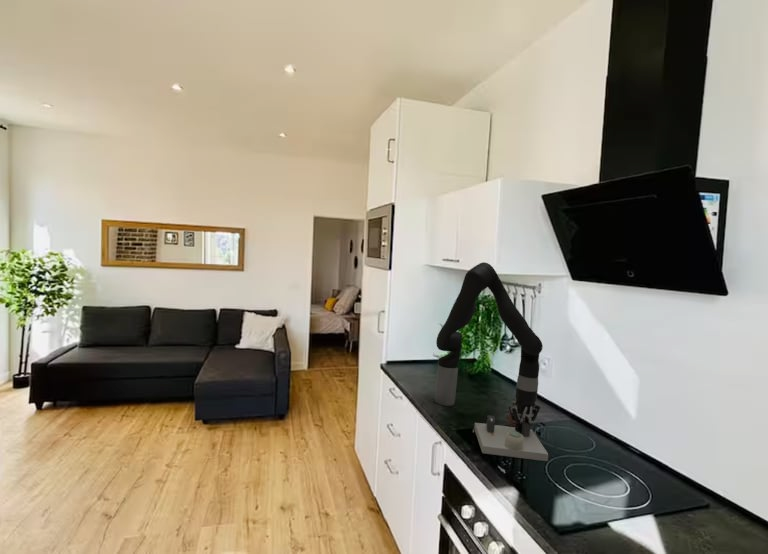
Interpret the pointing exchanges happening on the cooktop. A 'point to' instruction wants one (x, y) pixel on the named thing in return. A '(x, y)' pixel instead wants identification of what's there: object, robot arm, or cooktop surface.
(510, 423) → the lighter
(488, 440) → the base plate
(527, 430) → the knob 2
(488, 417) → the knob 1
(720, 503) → the cooktop surface
